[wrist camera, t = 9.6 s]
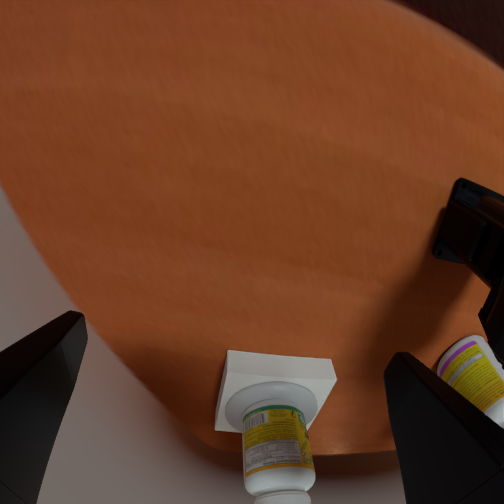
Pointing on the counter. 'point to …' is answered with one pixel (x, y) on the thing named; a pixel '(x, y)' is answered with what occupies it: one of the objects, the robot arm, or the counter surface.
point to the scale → (271, 385)
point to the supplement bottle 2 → (475, 375)
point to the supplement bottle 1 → (277, 453)
